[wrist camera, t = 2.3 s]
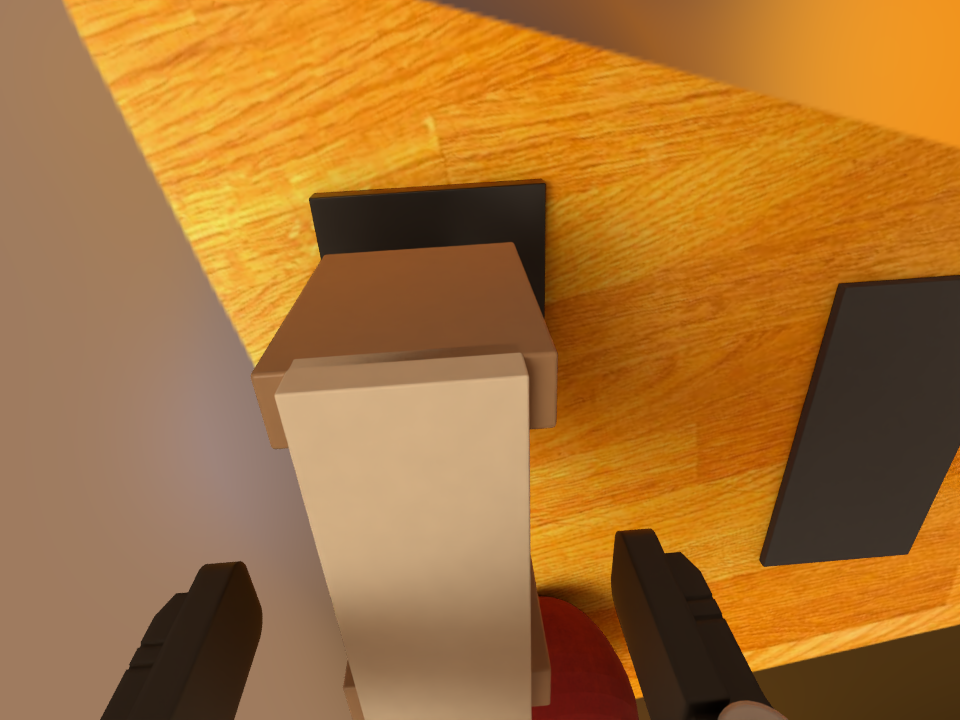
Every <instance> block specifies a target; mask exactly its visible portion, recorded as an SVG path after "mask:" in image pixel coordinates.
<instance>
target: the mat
mask: <svg viewBox="0 0 960 720" xmlns="http://www.w3.org/2000/svg"><path fill="white" fill-rule="evenodd" d="M959 446H960V275H957V276H943V277H929V278H915V279H901V280H886V281H872V282H858V283H844V284H839V285H838V289H837V292H836V296H835V299H834V303H833V306H832V310H831V313H830V317H829V320H828V324H827V327H826V331H825V334H824V338H823V341H822V344H821V348H820V351H819V355H818V358H817V362H816V365H815V369H814V372H813V376H812V379H811V383H810V386H809V390H808V393H807V396H806V400H805V403H804V407H803V410H802V414H801V417H800V421H799V424H798V428H797V431H796V435H795V438H794V442H793V445H792V449H791V452H790V455H789V459H788V462H787V466H786V469H785V473H784V476H783V480H782V483H781V487H780V490H779V494H778V497H777V501H776V504H775V508H774V511H773V514H772V518H771V521H770V525H769V528H768V532H767V535H766V539H765V542H764V546H763V549H762V553H761V556H760V562H761V563H762V565H763V566H764V567H767V566H778V565H790V564H802V563H813V562H825V561H836V560H848V559H859V558H871V557H883V556H894V555H906V554H908V553H909V551H910V549H911V547H912V545H913V543H914V541H915V539H916V537H917V534H918V532H919V530H920V528H921V526H922V524H923V522H924V520H925V518H926V516H927V513H928V511H929V509H930V507H931V505H932V503H933V501H934V499H935V497H936V495H937V492H938V490H939V488H940V486H941V484H942V482H943V480H944V478H945V476H946V474H947V471H948V469H949V467H950V465H951V463H952V461H953V459H954V457H955V455H956V453H957V450H958V448H959Z"/></svg>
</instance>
